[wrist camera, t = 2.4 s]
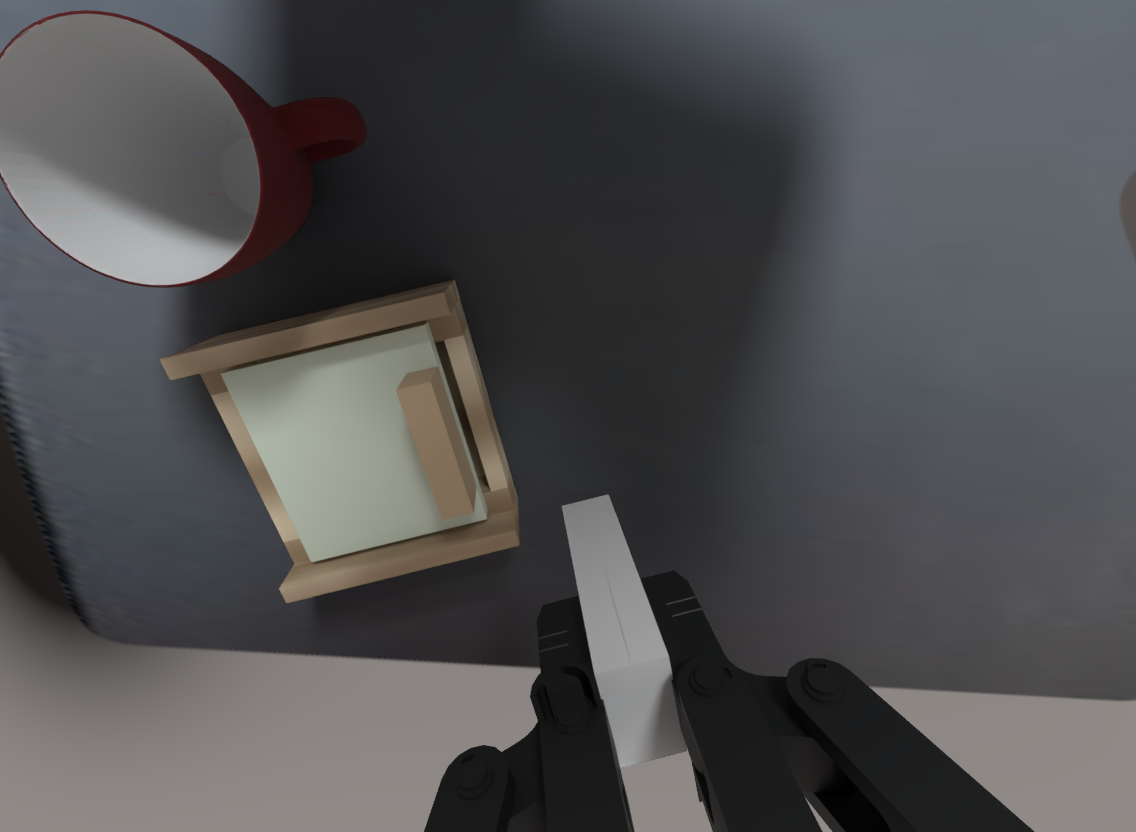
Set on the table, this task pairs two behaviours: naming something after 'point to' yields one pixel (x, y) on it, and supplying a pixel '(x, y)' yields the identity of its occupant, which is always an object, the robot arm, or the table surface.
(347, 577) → the birch box
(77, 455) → the table surface
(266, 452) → the lid
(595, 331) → the table surface
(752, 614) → the table surface
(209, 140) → the mug
